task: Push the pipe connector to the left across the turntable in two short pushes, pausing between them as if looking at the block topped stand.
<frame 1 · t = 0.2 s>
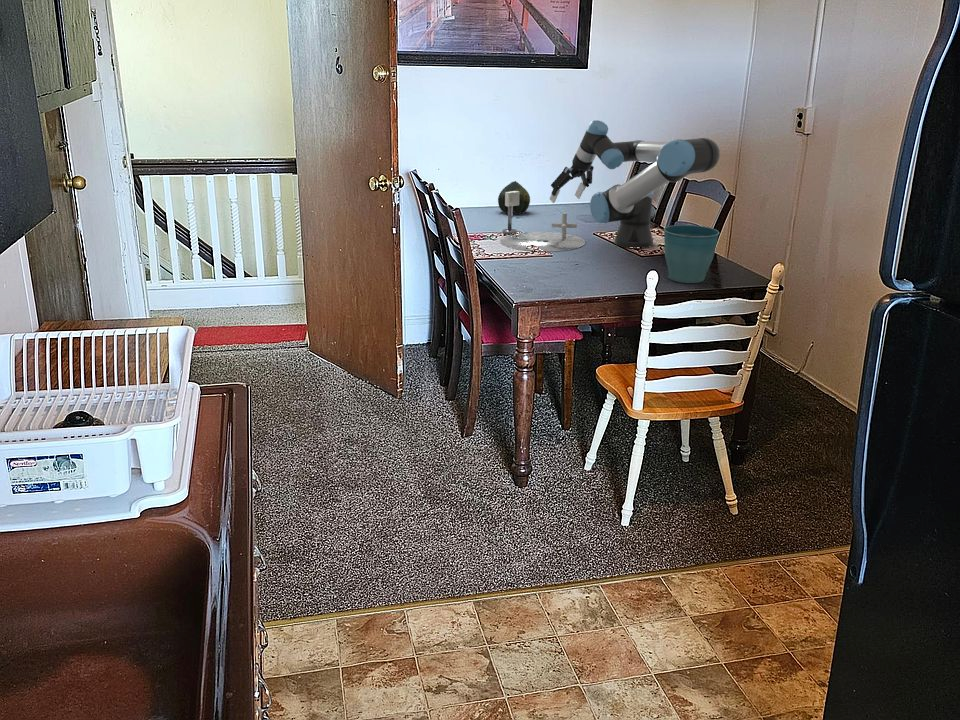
hand: (564, 198, 351), 15 cm above the table, tool tilted 30°, fingers open, 13 cm apart
squash: (513, 213, 402), on the table
turntable: (542, 241, 345), on the table
pipe connector: (563, 238, 351), resting on turntable
flower pot: (686, 279, 293), on the table
block topped stand: (509, 232, 360), on the table
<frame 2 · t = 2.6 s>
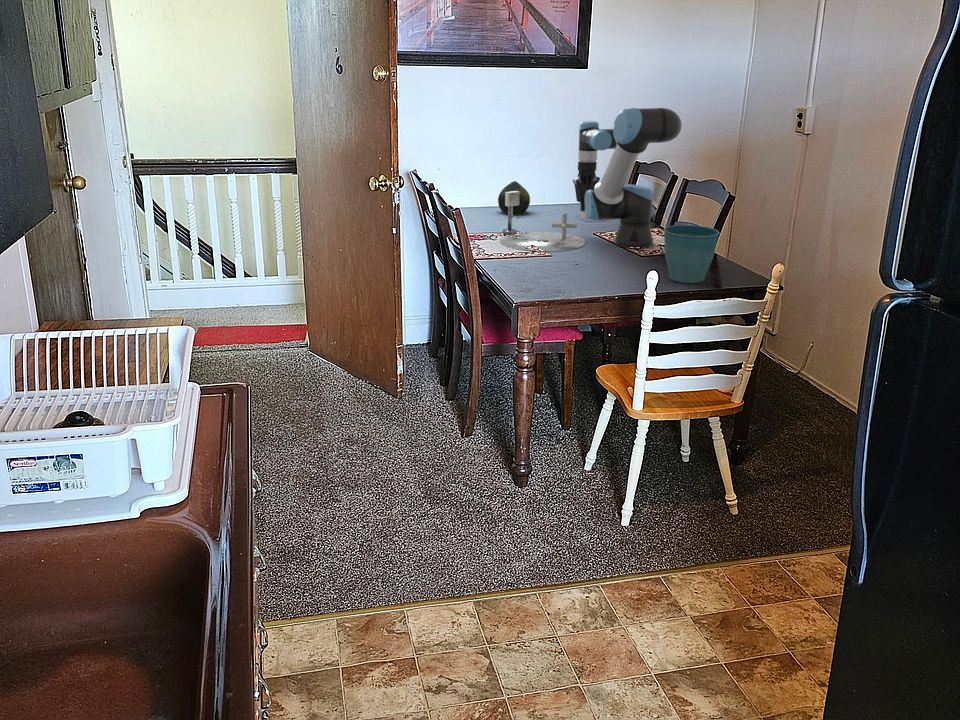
hand: (584, 218, 355), 7 cm above the table, tool pointing down, fingers closed
nothing on the table moved.
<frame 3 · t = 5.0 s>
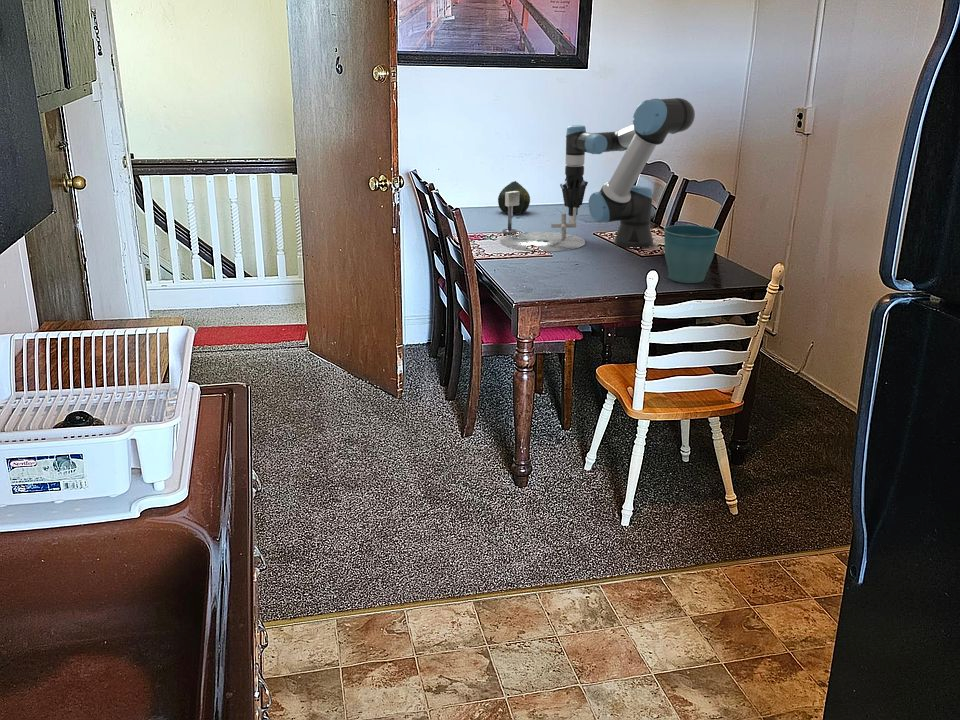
hand: (572, 223, 352), 6 cm above the table, tool pointing down, fingers closed
pipe connector: (563, 237, 351), resting on turntable, touching gripper
everything else where it was.
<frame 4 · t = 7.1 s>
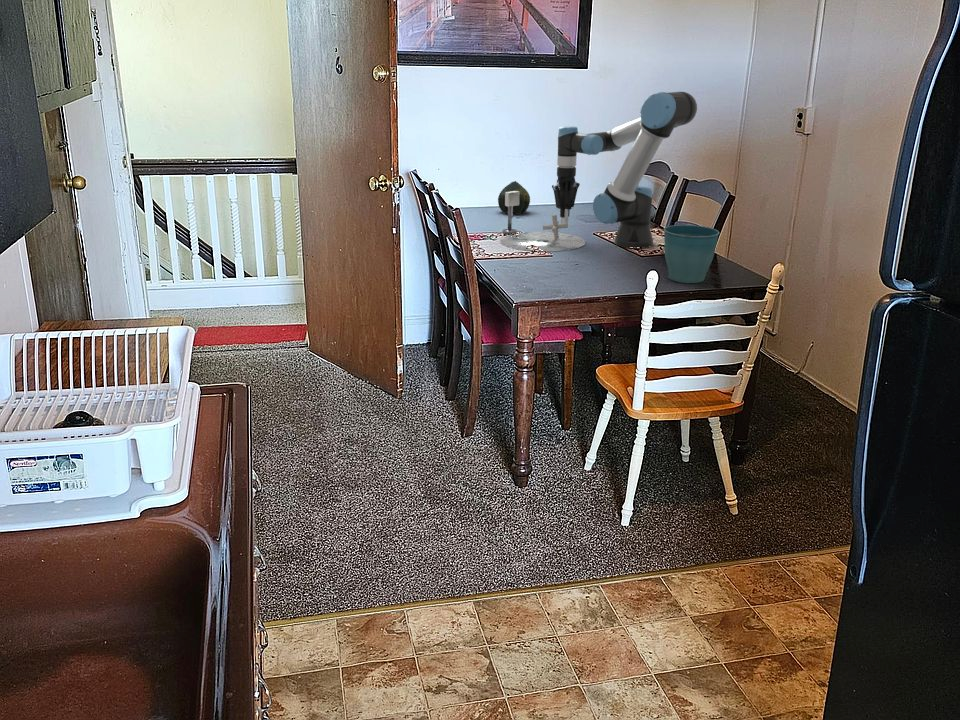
hand: (564, 225, 349), 5 cm above the table, tool pointing down, fingers closed
pipe connector: (556, 238, 349), resting on turntable, touching gripper
everything else where it was.
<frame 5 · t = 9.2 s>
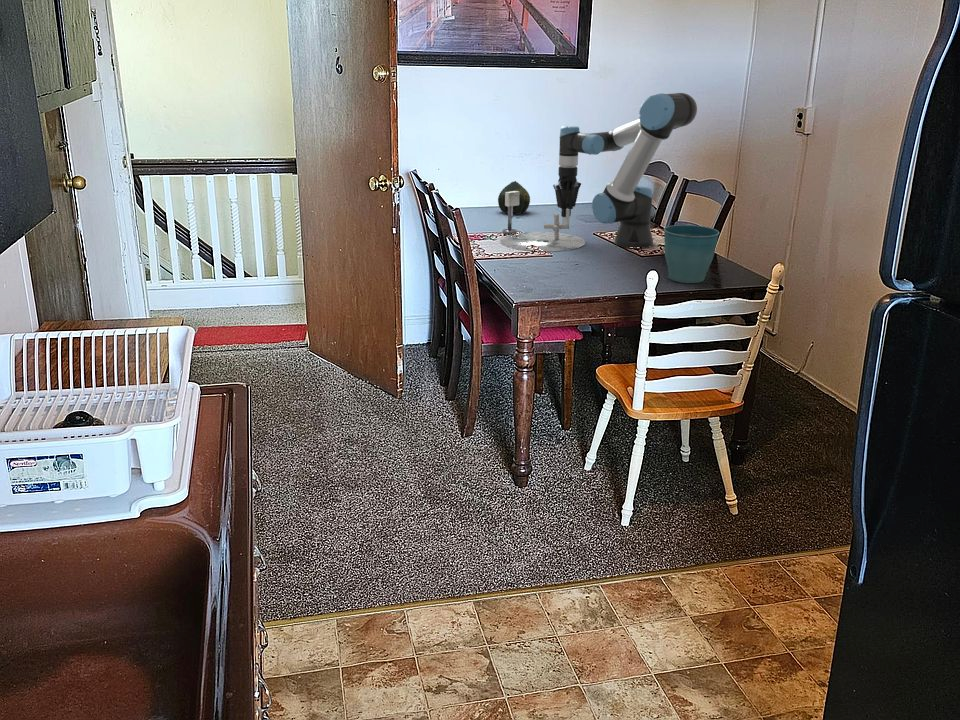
hand: (565, 224, 349), 6 cm above the table, tool pointing down, fingers closed
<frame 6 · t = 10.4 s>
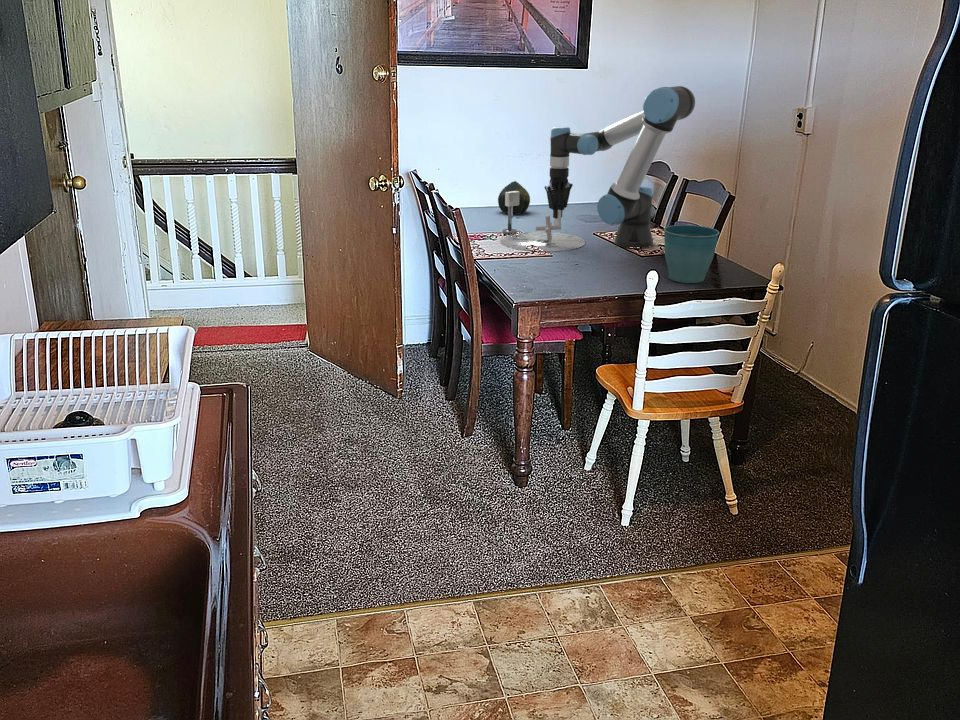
hand: (557, 225, 347), 6 cm above the table, tool pointing down, fingers closed
pipe connector: (549, 240, 347), resting on turntable, touching gripper
everything else where it was.
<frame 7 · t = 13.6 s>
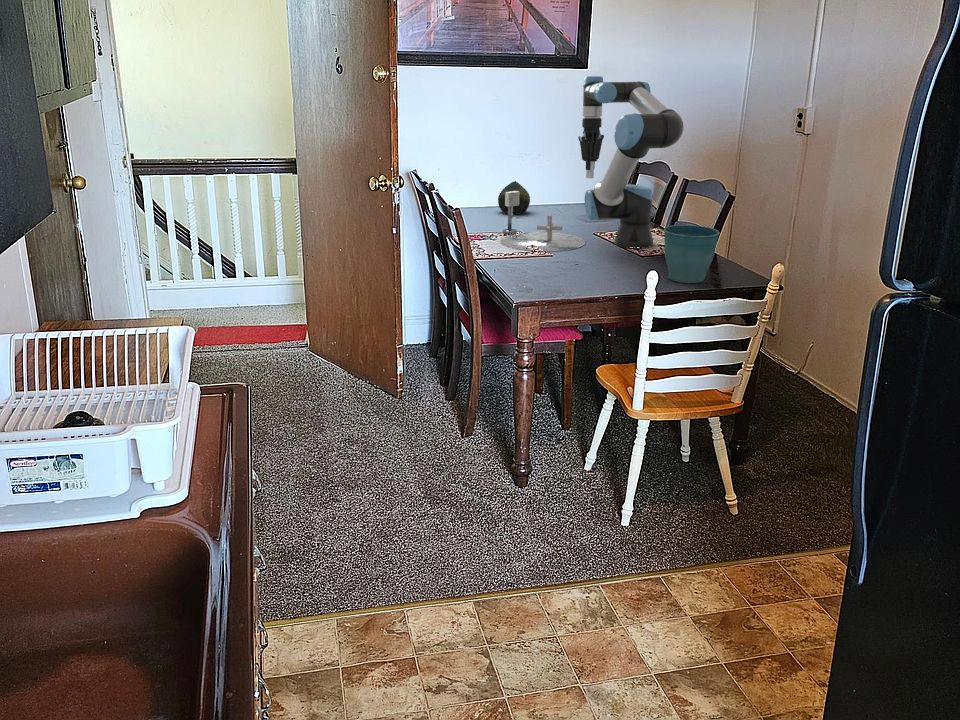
hand: (589, 177, 345), 24 cm above the table, tool pointing down, fingers closed
pipe connector: (549, 240, 347), resting on turntable
everything else where it was.
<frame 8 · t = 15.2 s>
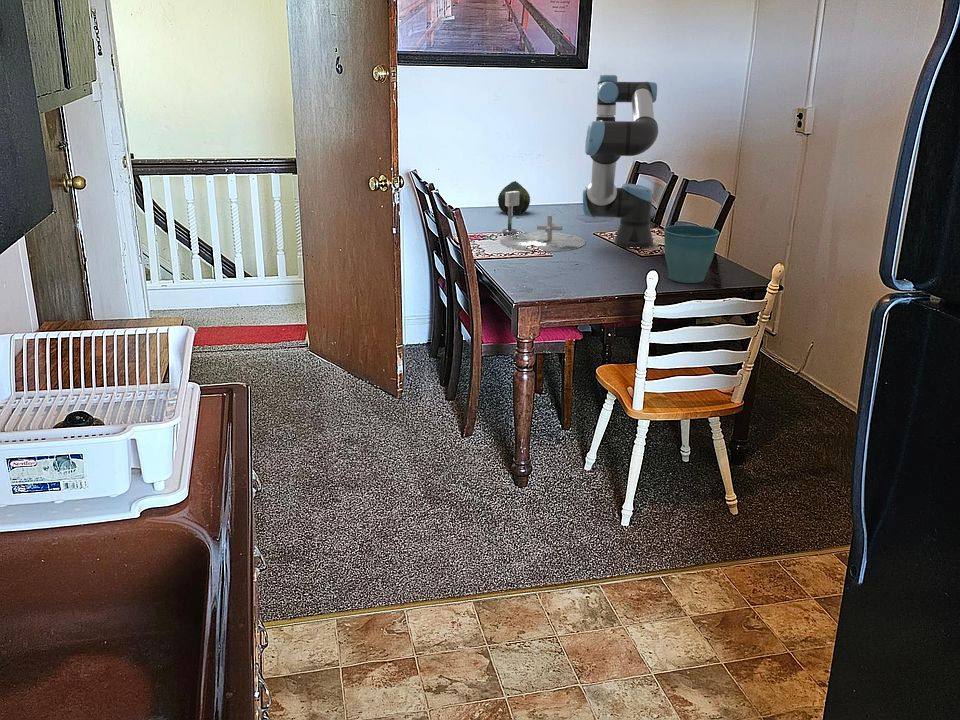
hand: (602, 176, 348), 24 cm above the table, tool pointing down, fingers closed
nothing on the table moved.
at the end: pipe connector 3.4 cm from the turntable (horizontally); pipe connector moved 7.6 cm from its start; the gripper is holding nothing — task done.
